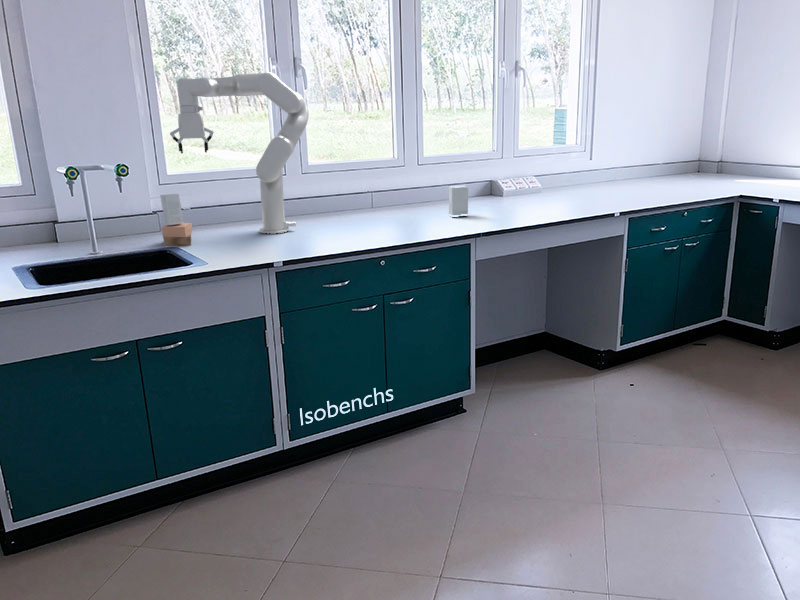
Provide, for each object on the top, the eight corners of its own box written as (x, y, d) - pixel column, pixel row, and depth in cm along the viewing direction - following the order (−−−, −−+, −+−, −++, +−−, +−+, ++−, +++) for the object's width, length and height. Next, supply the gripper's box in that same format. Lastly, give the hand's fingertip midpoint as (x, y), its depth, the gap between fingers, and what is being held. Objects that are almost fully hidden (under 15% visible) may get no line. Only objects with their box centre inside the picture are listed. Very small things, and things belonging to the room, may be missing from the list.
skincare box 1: (179, 223, 263) (174, 193, 261) (184, 223, 260) (179, 193, 258) (164, 225, 259) (159, 195, 257) (169, 225, 256) (164, 194, 254)
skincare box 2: (464, 215, 321) (465, 184, 316) (468, 217, 315) (469, 186, 311) (447, 216, 319) (448, 185, 314) (451, 218, 313) (452, 187, 309)
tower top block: (192, 232, 266) (191, 222, 265) (185, 237, 257) (184, 227, 256) (170, 232, 266) (169, 223, 265) (162, 237, 257) (161, 227, 256)
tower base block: (191, 241, 268) (190, 231, 267) (191, 246, 259) (190, 236, 258) (165, 243, 266) (164, 233, 265) (164, 248, 257) (163, 238, 255)
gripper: (211, 109, 274) (215, 151, 279) (167, 110, 269) (172, 152, 274) (211, 109, 267) (215, 152, 272) (167, 110, 262) (172, 154, 267)
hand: (194, 152), depth 273 cm, fingers open, 9 cm apart
